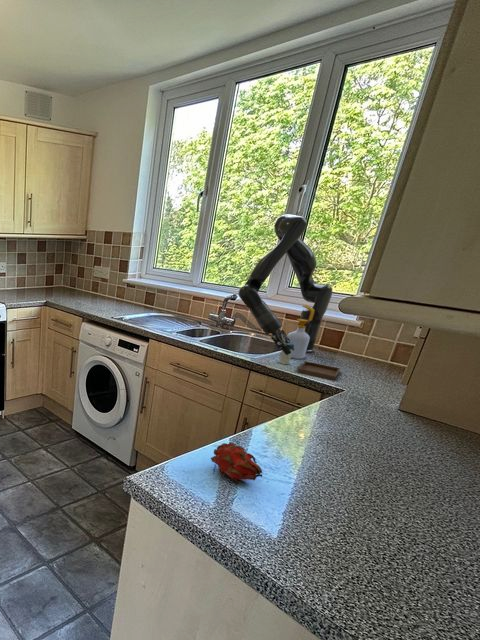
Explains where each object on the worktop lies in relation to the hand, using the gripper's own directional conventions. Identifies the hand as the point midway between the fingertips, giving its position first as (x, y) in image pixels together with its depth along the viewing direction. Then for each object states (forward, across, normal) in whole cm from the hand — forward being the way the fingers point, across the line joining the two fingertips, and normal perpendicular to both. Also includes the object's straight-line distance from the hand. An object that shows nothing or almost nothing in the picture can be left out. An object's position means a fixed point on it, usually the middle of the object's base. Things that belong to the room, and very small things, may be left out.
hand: (290, 352), depth 183 cm
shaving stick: (+3, 0, +5) cm, 6 cm away
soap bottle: (+4, +16, +4) cm, 17 cm away
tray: (+13, -3, -5) cm, 14 cm away
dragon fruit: (+11, -115, -3) cm, 116 cm away
